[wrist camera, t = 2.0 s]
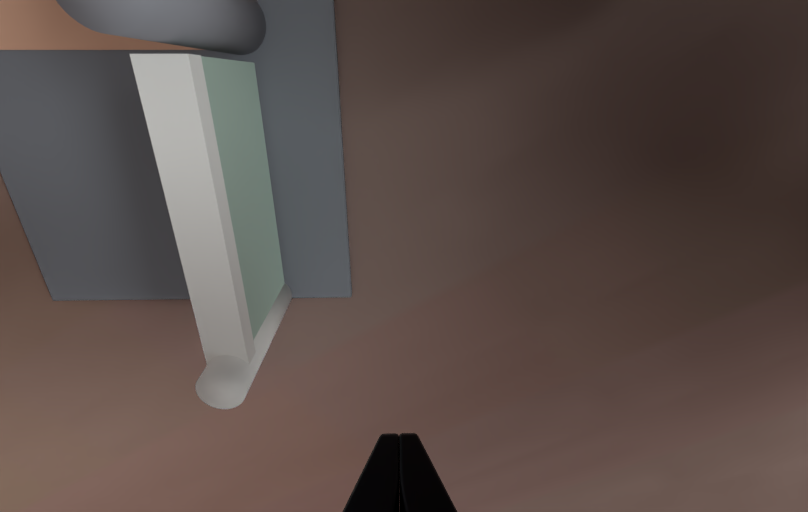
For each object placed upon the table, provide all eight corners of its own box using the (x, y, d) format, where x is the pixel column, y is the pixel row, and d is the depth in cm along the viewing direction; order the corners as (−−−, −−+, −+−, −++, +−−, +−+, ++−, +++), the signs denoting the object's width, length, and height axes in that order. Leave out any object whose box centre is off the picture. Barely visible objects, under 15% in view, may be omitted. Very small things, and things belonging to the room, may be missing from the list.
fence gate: (218, 62, 17) (103, 51, 10) (261, 62, 17) (175, 51, 10) (260, 309, 22) (200, 409, 15) (293, 308, 22) (249, 408, 15)
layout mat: (303, -490, 12) (299, -511, 11) (351, 293, 22) (351, 297, 22) (-262, -502, 11) (-287, -524, 11) (58, 296, 22) (52, 301, 21)
